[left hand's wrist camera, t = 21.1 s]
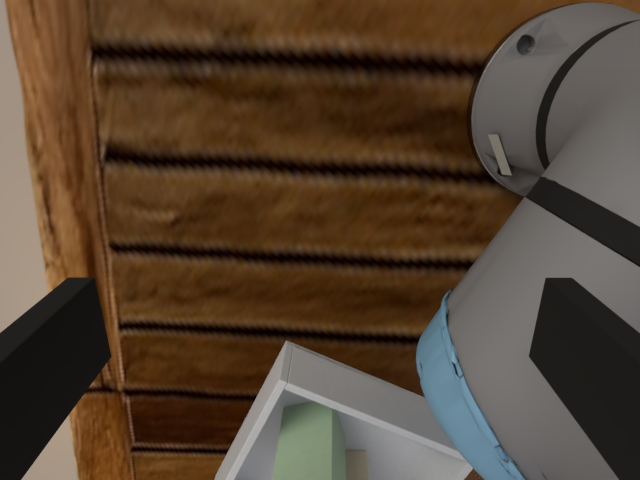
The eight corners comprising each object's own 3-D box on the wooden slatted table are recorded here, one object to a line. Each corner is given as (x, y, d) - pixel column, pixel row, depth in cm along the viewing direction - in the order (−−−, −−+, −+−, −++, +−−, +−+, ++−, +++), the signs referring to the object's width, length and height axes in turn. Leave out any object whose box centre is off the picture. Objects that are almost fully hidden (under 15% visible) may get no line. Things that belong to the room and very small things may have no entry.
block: (332, 397, 33) (332, 490, 26) (345, 436, 34) (348, 535, 27) (283, 406, 34) (268, 501, 26) (297, 444, 35) (287, 545, 27)
